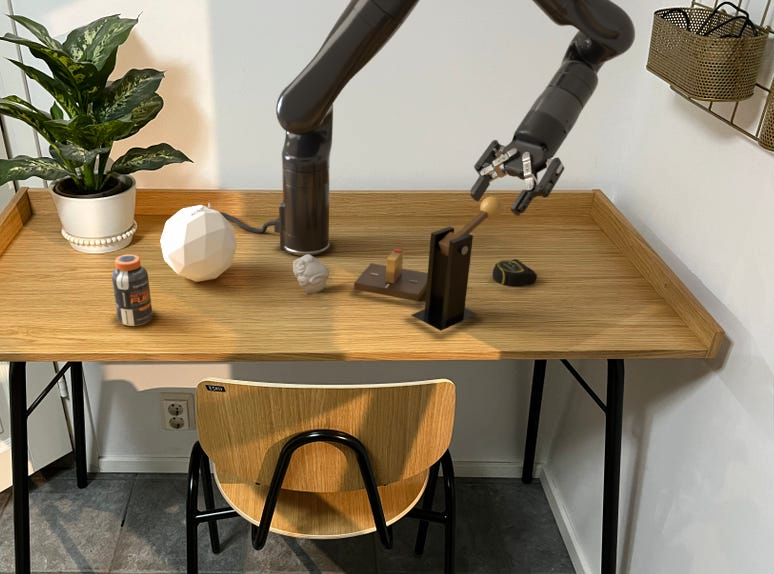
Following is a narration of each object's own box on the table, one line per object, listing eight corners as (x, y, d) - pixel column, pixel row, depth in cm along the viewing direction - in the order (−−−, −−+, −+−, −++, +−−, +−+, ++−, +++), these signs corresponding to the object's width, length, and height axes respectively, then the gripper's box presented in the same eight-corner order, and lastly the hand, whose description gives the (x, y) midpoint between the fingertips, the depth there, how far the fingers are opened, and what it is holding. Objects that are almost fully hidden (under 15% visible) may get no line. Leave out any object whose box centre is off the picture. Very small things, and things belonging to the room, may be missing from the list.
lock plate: (353, 294, 140) (354, 281, 138) (370, 275, 147) (371, 262, 145) (417, 307, 136) (418, 293, 134) (431, 285, 143) (432, 272, 141)
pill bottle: (136, 330, 130) (127, 269, 124) (110, 321, 132) (100, 261, 126) (160, 315, 134) (152, 255, 128) (134, 307, 137) (126, 248, 131)
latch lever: (491, 206, 129) (488, 189, 127) (508, 212, 127) (505, 195, 124) (439, 254, 126) (434, 238, 124) (455, 261, 124) (451, 245, 121)
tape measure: (536, 289, 141) (539, 271, 139) (503, 295, 139) (506, 276, 137) (516, 274, 146) (519, 256, 144) (484, 279, 145) (487, 260, 143)
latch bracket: (446, 305, 136) (454, 221, 128) (476, 320, 131) (487, 233, 123) (410, 320, 131) (416, 234, 123) (440, 337, 127) (448, 248, 118)
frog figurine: (301, 281, 145) (301, 247, 141) (335, 289, 142) (336, 254, 138) (287, 295, 140) (286, 260, 136) (321, 303, 137) (321, 267, 134)
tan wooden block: (393, 283, 138) (395, 259, 135) (385, 282, 138) (386, 257, 136) (402, 273, 141) (403, 249, 139) (393, 272, 142) (395, 247, 139)
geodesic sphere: (186, 222, 154) (162, 181, 141) (254, 229, 151) (235, 187, 138) (166, 289, 150) (139, 252, 136) (236, 297, 146) (215, 261, 133)
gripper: (505, 101, 129) (451, 182, 129) (578, 118, 119) (520, 205, 119) (521, 127, 134) (469, 205, 134) (592, 145, 125) (536, 229, 125)
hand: (493, 205), depth 127 cm, fingers open, 8 cm apart
